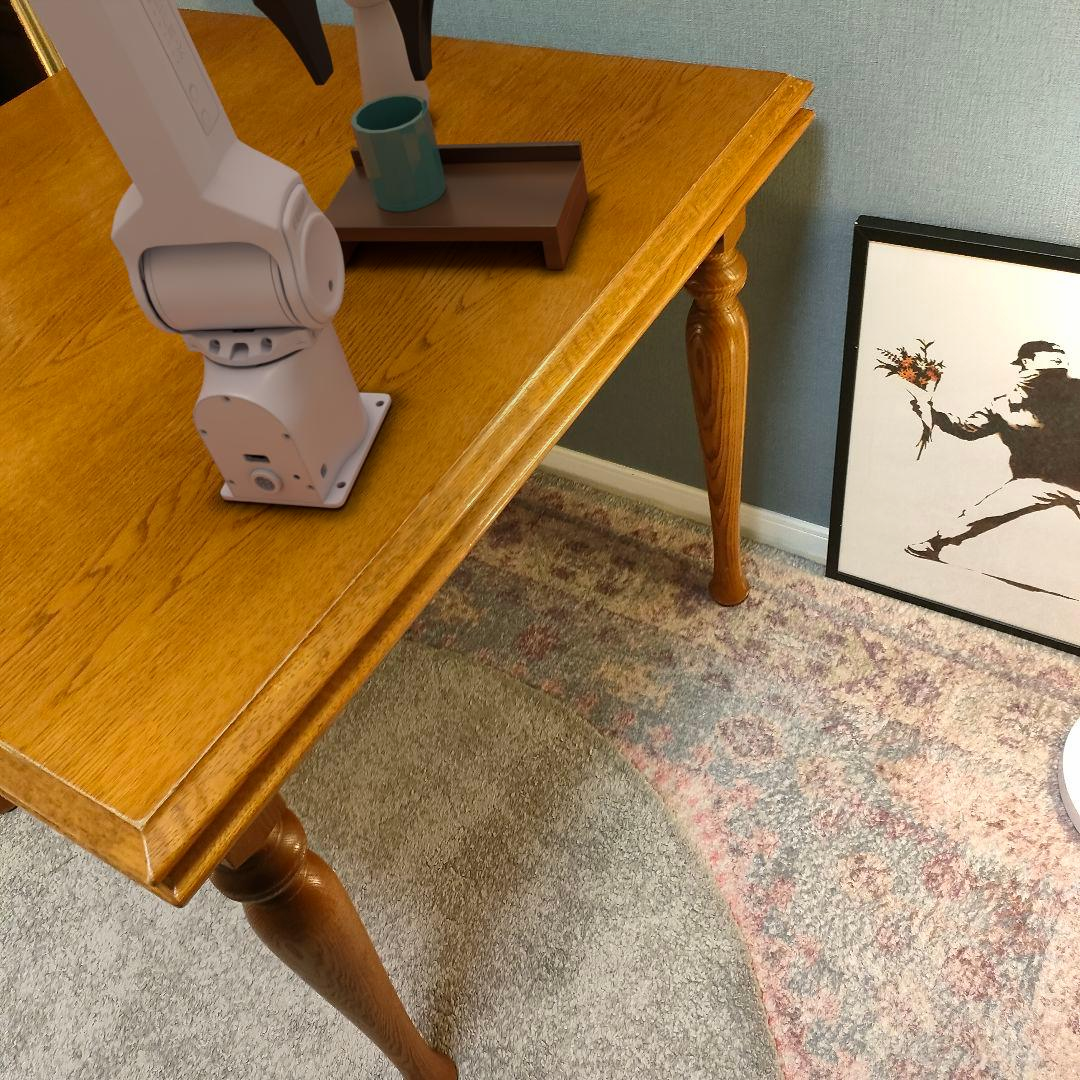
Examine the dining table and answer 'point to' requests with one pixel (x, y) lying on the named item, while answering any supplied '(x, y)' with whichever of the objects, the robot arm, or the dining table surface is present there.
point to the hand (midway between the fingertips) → (373, 76)
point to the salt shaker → (382, 52)
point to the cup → (399, 152)
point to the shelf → (478, 200)
